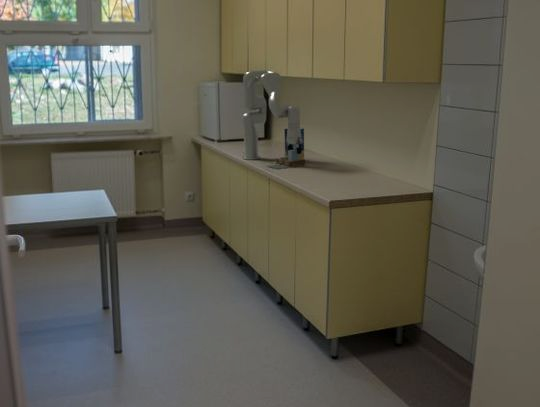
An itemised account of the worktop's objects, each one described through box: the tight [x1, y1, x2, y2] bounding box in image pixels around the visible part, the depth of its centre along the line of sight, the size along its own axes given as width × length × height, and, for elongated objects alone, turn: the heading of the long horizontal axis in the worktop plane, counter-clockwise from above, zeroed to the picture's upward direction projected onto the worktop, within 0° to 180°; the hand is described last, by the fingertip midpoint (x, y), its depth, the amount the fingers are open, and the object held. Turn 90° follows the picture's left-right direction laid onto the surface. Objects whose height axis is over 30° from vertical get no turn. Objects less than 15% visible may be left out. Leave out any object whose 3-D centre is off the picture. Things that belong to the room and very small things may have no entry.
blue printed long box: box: [284, 127, 305, 160], centre depth 399 cm, size 7×11×22 cm, turn 123°
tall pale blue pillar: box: [288, 149, 300, 162], centre depth 383 cm, size 4×7×10 cm, turn 123°
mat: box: [266, 164, 290, 170], centre depth 380 cm, size 12×8×1 cm
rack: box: [275, 158, 306, 168], centre depth 387 cm, size 16×11×4 cm
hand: (294, 153), depth 382 cm, fingers open, 9 cm apart
